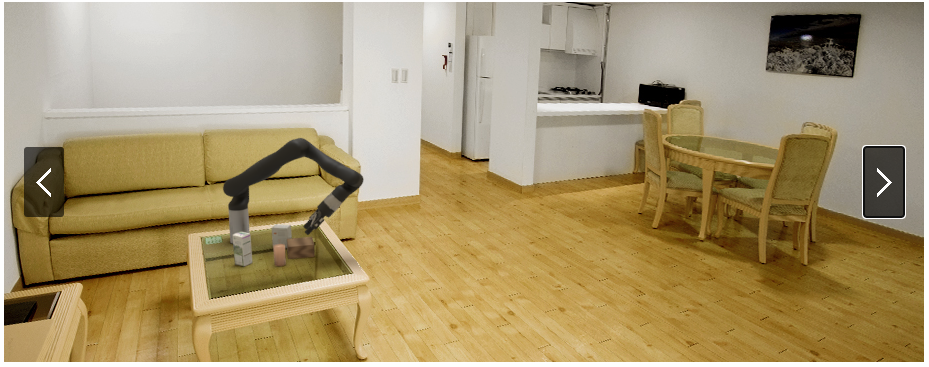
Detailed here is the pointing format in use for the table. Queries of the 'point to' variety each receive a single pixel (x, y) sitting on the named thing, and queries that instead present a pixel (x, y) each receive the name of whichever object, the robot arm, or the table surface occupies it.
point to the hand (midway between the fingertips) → (305, 230)
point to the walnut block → (300, 247)
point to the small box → (281, 234)
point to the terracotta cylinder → (279, 255)
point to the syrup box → (242, 248)
